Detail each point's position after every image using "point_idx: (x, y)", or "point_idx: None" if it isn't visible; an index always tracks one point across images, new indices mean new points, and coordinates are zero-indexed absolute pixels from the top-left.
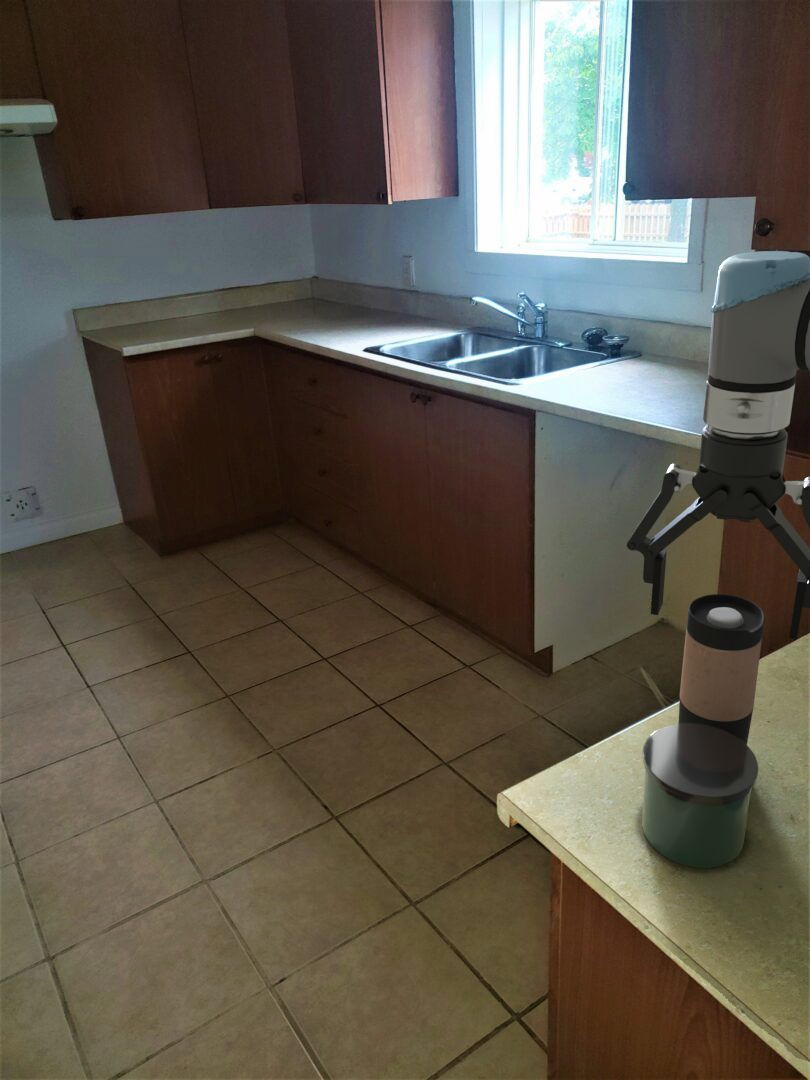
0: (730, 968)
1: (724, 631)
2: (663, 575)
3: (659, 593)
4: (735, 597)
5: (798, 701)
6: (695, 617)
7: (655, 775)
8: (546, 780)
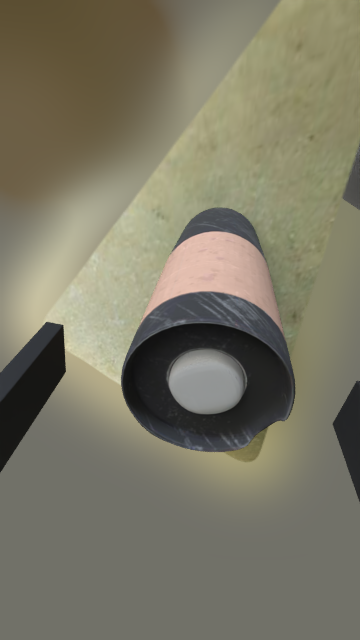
0: None
1: (199, 447)
2: (16, 404)
3: (38, 411)
4: (235, 328)
5: None
6: (142, 380)
7: (146, 429)
8: (57, 305)
